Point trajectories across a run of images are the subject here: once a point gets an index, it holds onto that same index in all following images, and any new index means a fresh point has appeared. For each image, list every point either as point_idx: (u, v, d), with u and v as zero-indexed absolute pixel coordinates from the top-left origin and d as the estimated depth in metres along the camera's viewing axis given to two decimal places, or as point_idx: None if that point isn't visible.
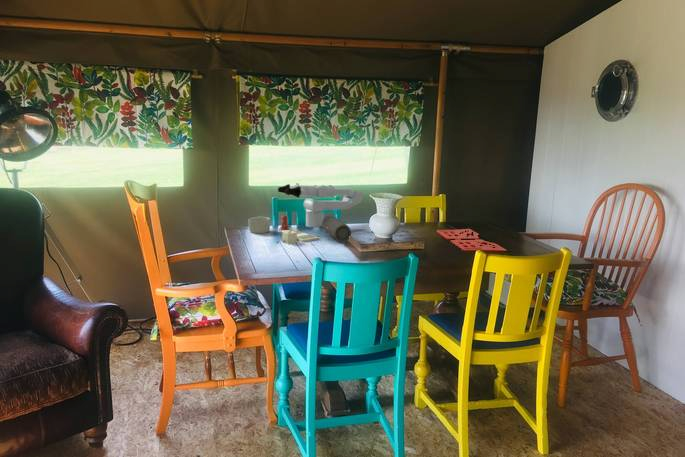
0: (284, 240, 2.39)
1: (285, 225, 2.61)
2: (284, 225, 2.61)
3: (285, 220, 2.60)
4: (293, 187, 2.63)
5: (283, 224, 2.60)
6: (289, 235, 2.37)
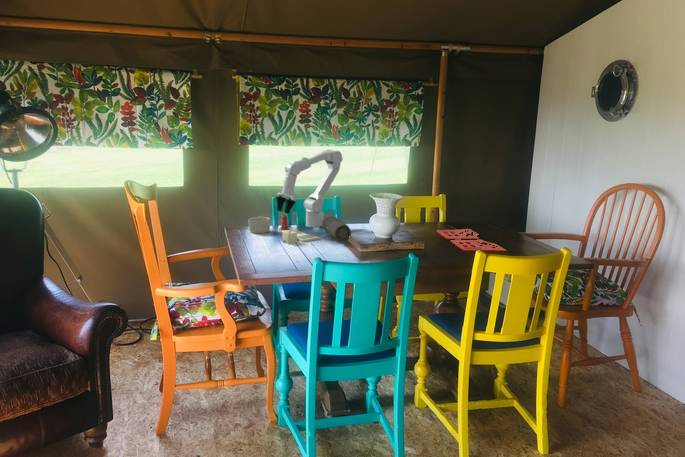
0: (284, 240, 2.39)
1: (285, 225, 2.61)
2: (284, 225, 2.61)
3: (285, 220, 2.60)
4: (281, 194, 2.60)
5: (283, 224, 2.60)
6: (289, 235, 2.37)
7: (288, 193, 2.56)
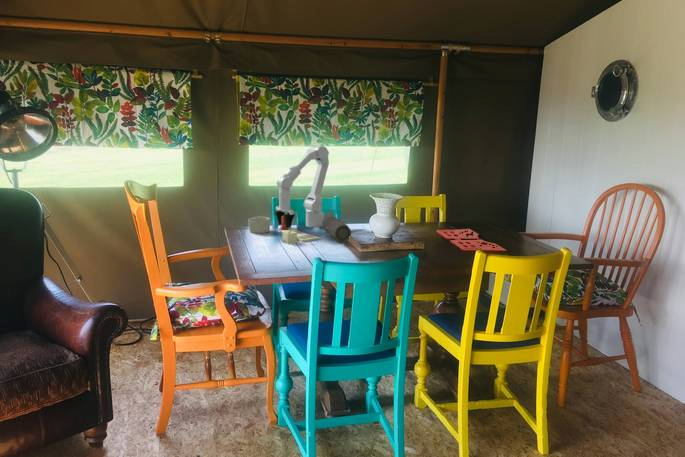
0: (284, 240, 2.39)
1: (285, 225, 2.61)
2: (284, 225, 2.61)
3: (285, 220, 2.60)
4: None
5: (283, 224, 2.60)
6: (289, 235, 2.37)
7: (285, 208, 2.57)
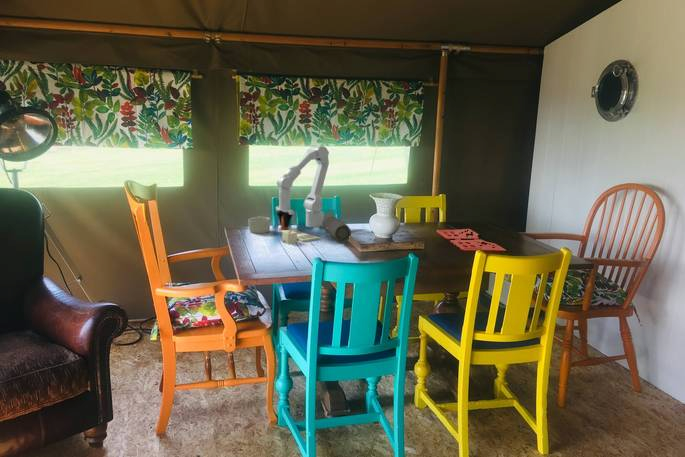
0: (284, 240, 2.39)
1: None
2: None
3: None
4: None
5: (283, 224, 2.60)
6: (289, 235, 2.37)
7: (285, 208, 2.57)
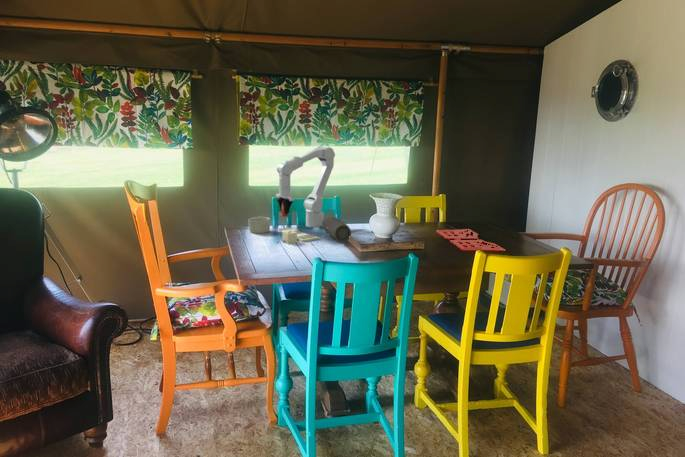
0: (284, 240, 2.39)
1: None
2: None
3: None
4: None
5: (283, 211, 2.59)
6: (289, 235, 2.37)
7: (285, 194, 2.56)
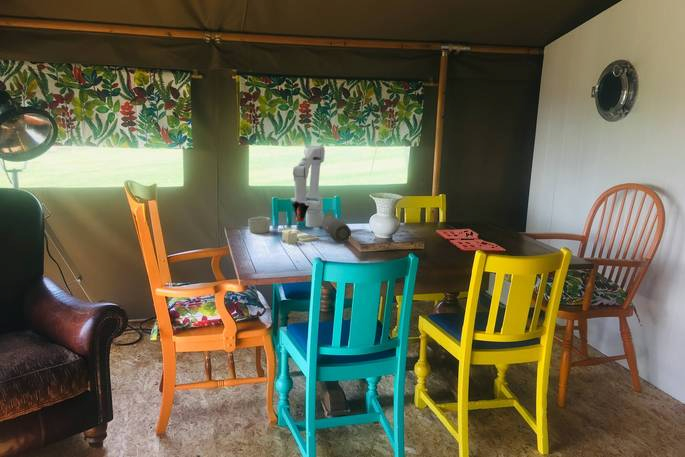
0: (284, 240, 2.39)
1: None
2: None
3: None
4: None
5: (299, 216, 2.47)
6: (289, 235, 2.37)
7: (301, 198, 2.44)
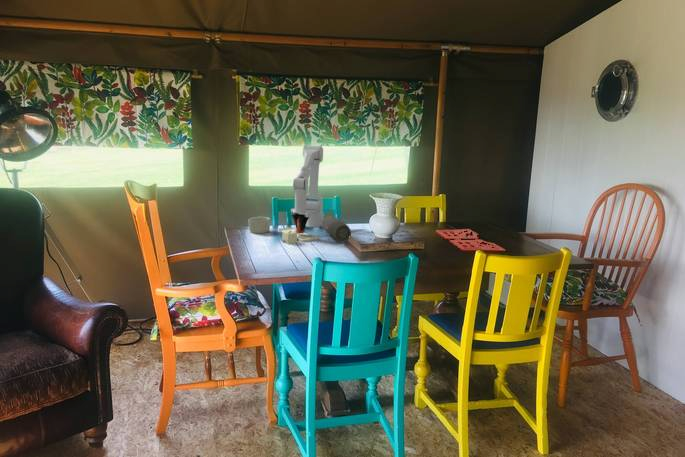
0: (284, 240, 2.39)
1: None
2: None
3: None
4: None
5: (299, 227, 2.49)
6: (289, 235, 2.37)
7: (301, 210, 2.46)
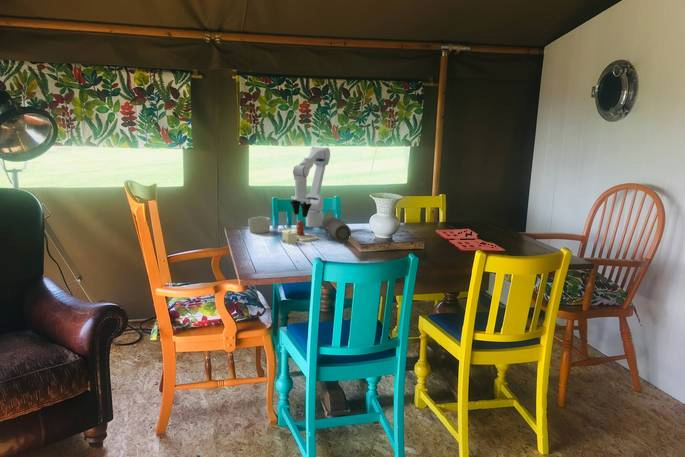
0: (284, 240, 2.39)
1: (301, 231, 2.49)
2: (300, 231, 2.49)
3: (301, 225, 2.48)
4: None
5: (299, 230, 2.49)
6: (289, 235, 2.37)
7: (302, 197, 2.51)
